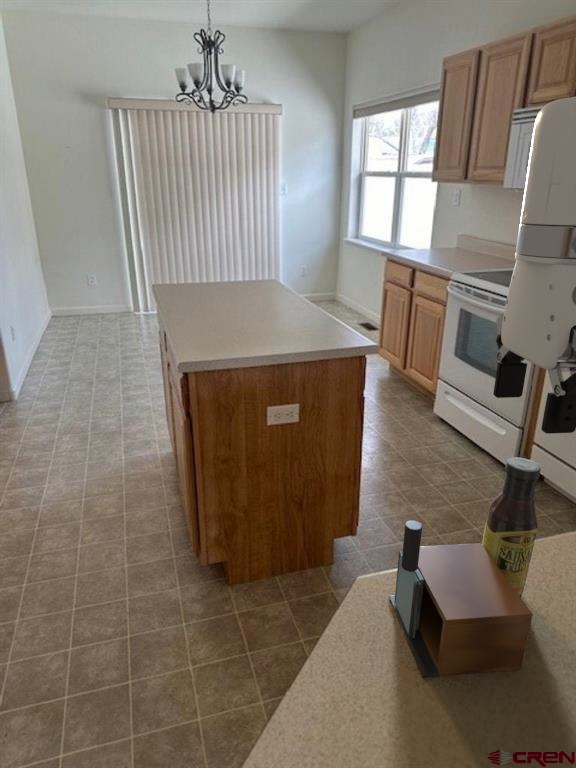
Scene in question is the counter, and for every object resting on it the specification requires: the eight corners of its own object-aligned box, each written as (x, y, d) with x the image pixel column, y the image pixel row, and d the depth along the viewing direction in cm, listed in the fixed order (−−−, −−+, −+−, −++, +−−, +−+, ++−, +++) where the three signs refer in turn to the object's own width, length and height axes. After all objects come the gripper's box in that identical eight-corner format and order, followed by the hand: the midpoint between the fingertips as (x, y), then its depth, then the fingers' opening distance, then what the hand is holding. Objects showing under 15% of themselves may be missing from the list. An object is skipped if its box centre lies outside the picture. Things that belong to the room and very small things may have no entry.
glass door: (403, 600, 72) (412, 509, 67) (420, 638, 65) (431, 540, 61) (389, 601, 71) (397, 510, 67) (404, 639, 65) (414, 541, 61)
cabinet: (472, 591, 74) (480, 542, 71) (521, 669, 62) (532, 613, 59) (388, 597, 73) (393, 548, 70) (421, 677, 60) (428, 621, 58)
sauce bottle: (491, 612, 70) (514, 479, 64) (465, 581, 76) (483, 456, 69) (533, 603, 72) (560, 472, 65) (504, 573, 78) (526, 450, 71)
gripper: (667, 254, 43) (621, 447, 48) (545, 239, 59) (521, 385, 64) (579, 254, 42) (543, 450, 47) (480, 238, 58) (461, 386, 64)
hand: (530, 412), depth 56 cm, fingers open, 9 cm apart
